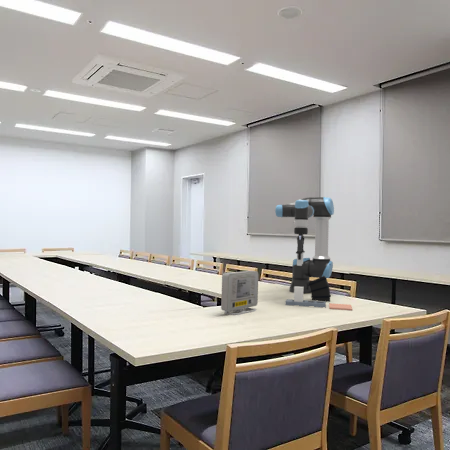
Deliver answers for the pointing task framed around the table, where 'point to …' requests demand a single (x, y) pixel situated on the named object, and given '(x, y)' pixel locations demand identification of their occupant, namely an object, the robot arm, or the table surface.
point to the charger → (298, 294)
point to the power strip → (306, 303)
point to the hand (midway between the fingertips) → (300, 264)
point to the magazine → (320, 289)
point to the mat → (340, 306)
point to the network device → (239, 292)
